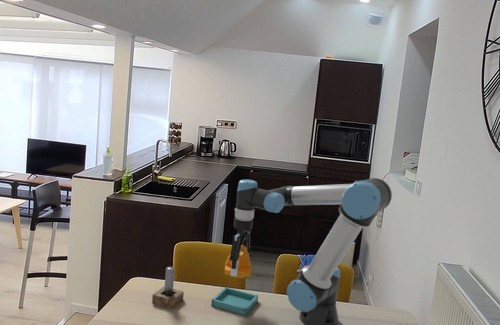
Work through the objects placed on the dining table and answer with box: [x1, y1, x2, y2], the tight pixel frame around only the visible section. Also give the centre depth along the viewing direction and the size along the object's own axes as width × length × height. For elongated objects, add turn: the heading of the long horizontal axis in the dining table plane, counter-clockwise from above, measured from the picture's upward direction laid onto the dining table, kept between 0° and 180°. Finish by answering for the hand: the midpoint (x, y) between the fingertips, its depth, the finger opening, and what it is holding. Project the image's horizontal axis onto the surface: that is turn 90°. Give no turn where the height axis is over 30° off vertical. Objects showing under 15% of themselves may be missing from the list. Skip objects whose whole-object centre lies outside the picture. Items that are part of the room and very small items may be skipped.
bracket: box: [223, 244, 252, 279], centre depth 185 cm, size 11×7×12 cm, turn 91°
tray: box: [210, 286, 259, 316], centre depth 187 cm, size 15×14×2 cm
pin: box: [164, 266, 176, 297], centre depth 182 cm, size 3×3×14 cm
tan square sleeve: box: [151, 285, 185, 309], centre depth 183 cm, size 9×9×4 cm
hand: (238, 271), depth 185 cm, fingers closed on bracket, 9 cm apart
